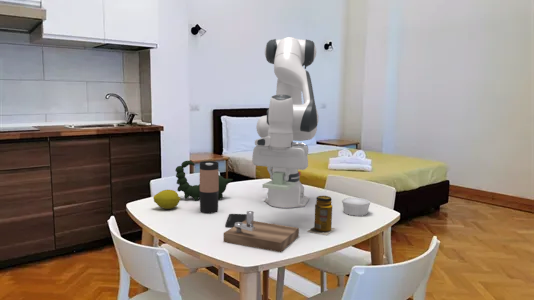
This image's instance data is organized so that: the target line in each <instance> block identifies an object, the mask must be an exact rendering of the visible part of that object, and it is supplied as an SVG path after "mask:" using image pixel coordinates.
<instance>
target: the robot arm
mask: <svg viewBox="0 0 534 300" xmlns="http://www.w3.org/2000/svg"><path fill="white" fill-rule="evenodd" d="M264 56H265V60H266V61H267V62H268V63H269V64H272V65H273V72H274V75H275V76H276V78H277V82H276V93H275V94H274V95H272V96H271V97H270V98H269V99H270V100H269V107H268V109H267V110H266V115H262V116H260V117H259V119H258V120H257V122H256V128H255V129H256V132H257V134H258V136H259V137H260V138H257V139H255V140H254V145H255V146H254V148H253V150H252V164H253V165H254V166H259V167H267V168H266V169H267V172H268V174H269V176H270V178H269V179H270V181H272V180H273V173H274V172H276V171H280V172H286V175H284V176H283V181H286V182H295V186H294V187H292V188H290V189H288V190H277V189H269V188H267V196H266V197H267V198H265V199H264V202H265V203H267V204H268V205H269V206H271V207H274V208H282V209H283V208H284V209H286V208H287V209H290V208H292V209H293V208H301V207H302V208H303V207H306V206H307V204H308V201H309V200H310V197H309V196H307V195H305V186H304V185H303V184H302V182H301V181H300V180H301V179H300V177H301V175H302V174H301V173H302V172H301V171H299V170H302V171H304V170H306V169H308V167H309V158H308V154H309V146H308V145H307V144H305V142H303V141H309V140H312V139H313V138H314V137H315V136H316V135H317V131H318V124H319V113H318V110H317V106H316V102H315V96H314V90H313V89H314V88H313V84H312V78H311V74H310V72H309V71H308V70H307V67H309V66H311V65H313V63H314V61H315V59H316V56H317V48H316V44H315V42H314V41H313V40H310V39H301V38H295V37H292V36H287V37H284V38H282V39H281V38H280V39H276V38H274V39H270V40H268V41H267V42H266V45H265V47H264ZM302 97H303V98H302ZM302 99H303V101H302ZM297 141H298V142H297Z"/></svg>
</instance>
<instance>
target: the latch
mask: <svg viewBox="0 0 534 300" xmlns="http://www.w3.org/2000/svg"><path fill="white" fill-rule="evenodd" d="M254 213H255V212H254V211H252V210H247V211H246V214H247V224H243V223H242V222H236V223H235V228H241V229H245V230H249V231H254V230H255V226H253V221H255V220H254V218H255V217H254Z"/></svg>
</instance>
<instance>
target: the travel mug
mask: <svg viewBox="0 0 534 300" xmlns="http://www.w3.org/2000/svg"><path fill="white" fill-rule="evenodd" d="M219 166H220V165H219V162H218V161H214V160H212V161H211V160H209V161H208V160H207V161H206V160H205V161H201V162H199V184H200V198H199V210H200V213H202V214H207V215H208V214H210V215H211V214H216V213H218V211H219V199H218V195H219V175H220V174H219V173H220V172H219V169H220V168H219Z"/></svg>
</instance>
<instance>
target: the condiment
mask: <svg viewBox="0 0 534 300" xmlns="http://www.w3.org/2000/svg"><path fill="white" fill-rule="evenodd" d="M315 199H316V201H315V204H314V205H315V206H314V222H313V223H314V225H313V227H312V228H310V229H308V230H307V232H309V233H312V234H313V233H314V234H318V235H322V236H323V235H324V236H328V235H329V234H330V233H332V232H333V231H334V230H335V229H336V228H335V227H332V222H333V221H332V219H333V205H332V202H333V201H332V197H331V196H328V195H318V196H317V197H316V198H315Z"/></svg>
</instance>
